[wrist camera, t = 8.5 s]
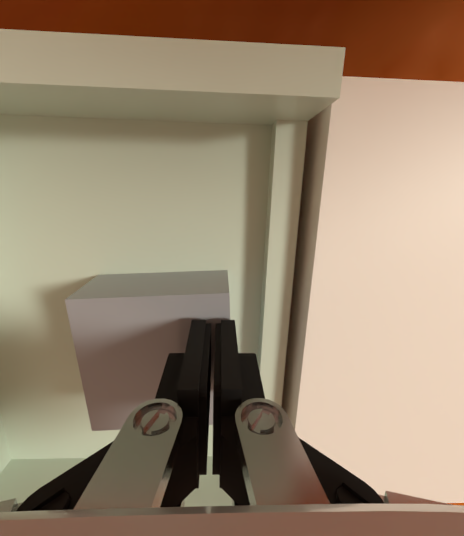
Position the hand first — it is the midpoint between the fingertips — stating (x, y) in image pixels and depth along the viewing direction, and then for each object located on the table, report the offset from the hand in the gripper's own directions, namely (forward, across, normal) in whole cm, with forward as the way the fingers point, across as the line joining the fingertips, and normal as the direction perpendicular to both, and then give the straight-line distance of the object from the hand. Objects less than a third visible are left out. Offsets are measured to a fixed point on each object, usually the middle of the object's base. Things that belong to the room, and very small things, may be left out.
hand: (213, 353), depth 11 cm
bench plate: (+4, -12, 0) cm, 13 cm away
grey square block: (+3, +2, +1) cm, 4 cm away
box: (+4, +4, 0) cm, 6 cm away
